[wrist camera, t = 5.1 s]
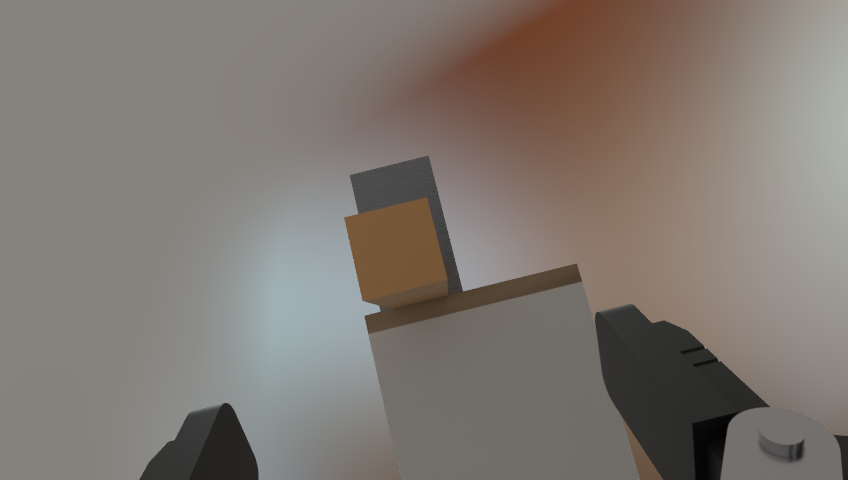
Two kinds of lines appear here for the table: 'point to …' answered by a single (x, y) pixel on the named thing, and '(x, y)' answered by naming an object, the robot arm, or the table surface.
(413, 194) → the grey hammer
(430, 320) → the plinth
